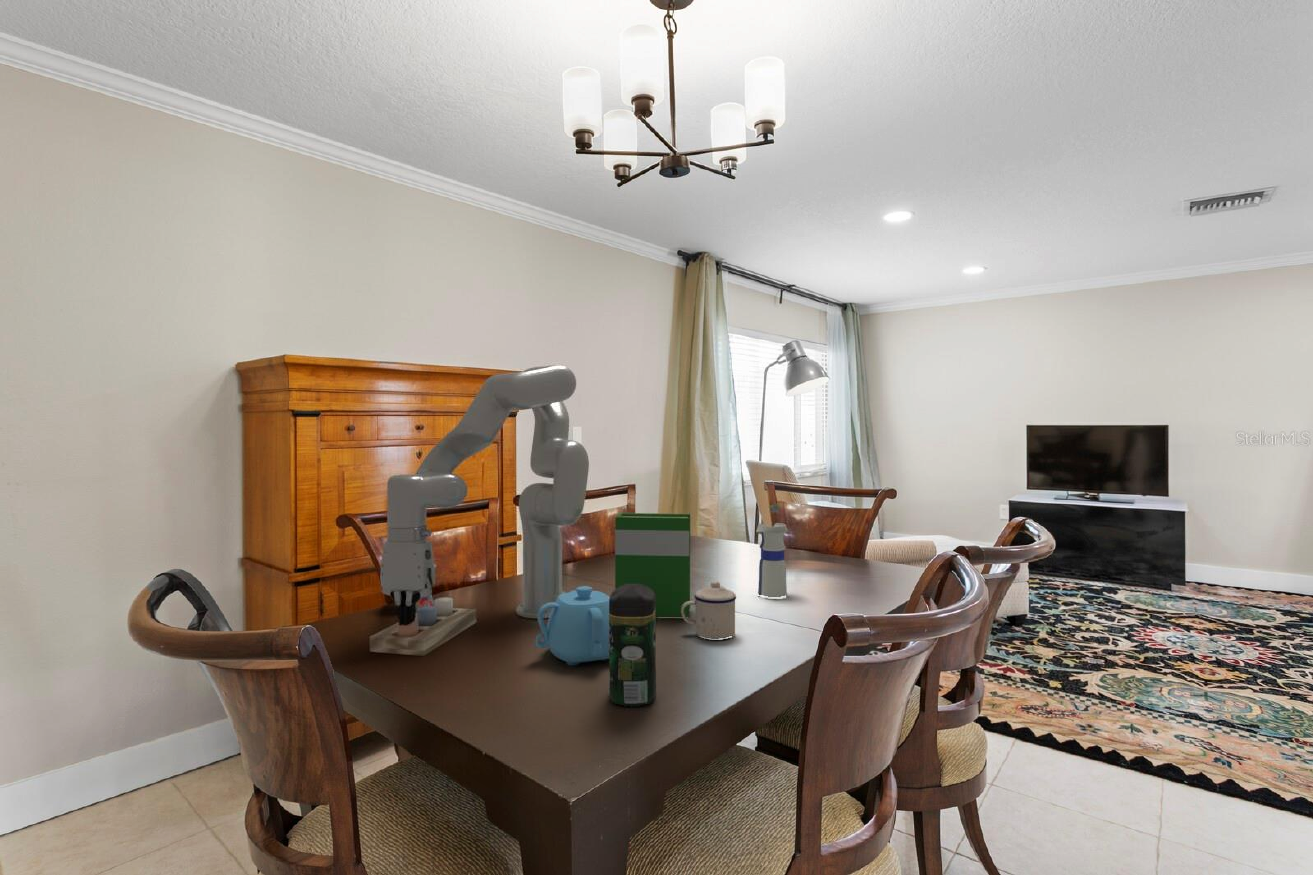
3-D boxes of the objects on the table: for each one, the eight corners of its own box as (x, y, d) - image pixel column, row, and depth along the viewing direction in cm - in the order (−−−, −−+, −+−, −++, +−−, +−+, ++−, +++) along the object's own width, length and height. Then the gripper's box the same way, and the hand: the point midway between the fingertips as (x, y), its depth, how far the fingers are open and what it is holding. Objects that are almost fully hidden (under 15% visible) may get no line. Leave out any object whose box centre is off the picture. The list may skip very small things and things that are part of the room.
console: (476, 622, 147) (476, 609, 147) (423, 655, 125) (423, 640, 125) (429, 619, 149) (429, 606, 149) (369, 651, 128) (369, 636, 128)
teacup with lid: (734, 628, 143) (734, 577, 142) (737, 642, 134) (737, 587, 133) (681, 627, 143) (681, 576, 143) (680, 641, 134) (681, 586, 134)
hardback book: (690, 610, 157) (690, 513, 157) (689, 619, 150) (689, 518, 149) (619, 608, 159) (619, 513, 158) (615, 617, 151) (615, 517, 151)
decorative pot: (525, 661, 123) (525, 591, 123) (574, 636, 137) (574, 574, 137) (594, 677, 115) (594, 603, 115) (639, 649, 129) (639, 583, 129)
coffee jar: (612, 684, 112) (612, 579, 112) (657, 685, 112) (657, 580, 111) (605, 708, 102) (605, 594, 102) (654, 709, 102) (654, 595, 101)
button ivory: (456, 613, 146) (456, 597, 146) (447, 619, 142) (447, 602, 142) (440, 612, 147) (440, 597, 146) (430, 618, 143) (430, 601, 143)
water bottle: (751, 592, 174) (752, 501, 173) (782, 591, 175) (782, 501, 174) (760, 600, 166) (760, 505, 165) (791, 599, 167) (792, 505, 166)
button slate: (440, 623, 139) (440, 606, 139) (430, 628, 135) (430, 611, 135) (423, 622, 140) (423, 605, 140) (413, 627, 136) (413, 610, 136)
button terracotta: (422, 638, 132) (422, 620, 132) (411, 644, 128) (411, 626, 128) (405, 637, 133) (404, 619, 133) (393, 643, 129) (393, 625, 129)
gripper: (449, 533, 132) (449, 620, 132) (385, 530, 135) (385, 615, 135) (430, 539, 125) (429, 631, 125) (362, 536, 128) (362, 626, 128)
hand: (406, 623), depth 130 cm, fingers closed
